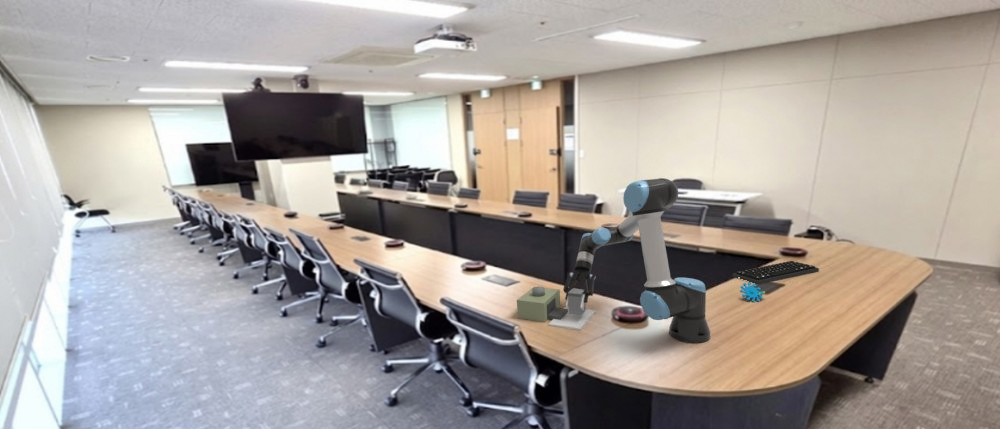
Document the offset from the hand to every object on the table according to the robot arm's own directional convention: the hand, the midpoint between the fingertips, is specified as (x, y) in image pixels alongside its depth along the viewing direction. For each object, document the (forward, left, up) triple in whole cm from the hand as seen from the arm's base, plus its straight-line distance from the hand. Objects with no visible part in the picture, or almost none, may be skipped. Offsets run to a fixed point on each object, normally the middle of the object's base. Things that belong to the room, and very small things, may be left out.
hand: (574, 307), depth 187 cm
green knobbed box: (+11, -4, -7) cm, 13 cm away
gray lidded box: (0, -4, -3) cm, 5 cm away
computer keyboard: (-84, -100, -8) cm, 130 cm away
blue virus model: (-71, -53, -7) cm, 89 cm away
